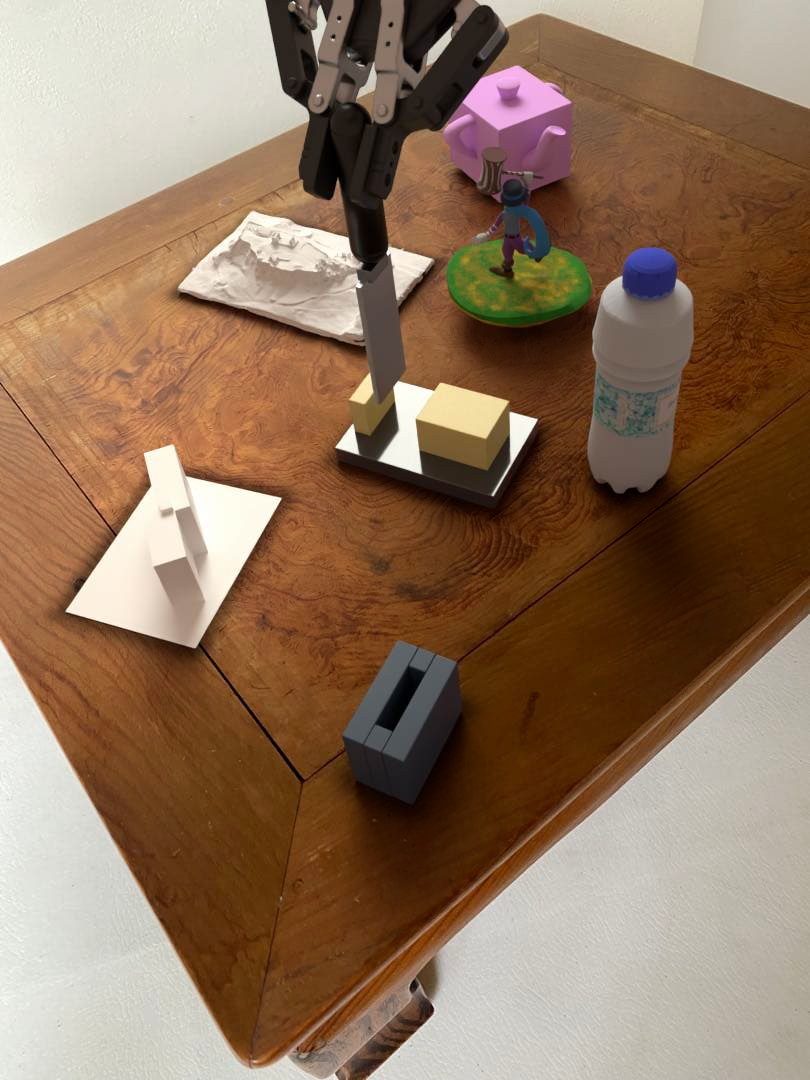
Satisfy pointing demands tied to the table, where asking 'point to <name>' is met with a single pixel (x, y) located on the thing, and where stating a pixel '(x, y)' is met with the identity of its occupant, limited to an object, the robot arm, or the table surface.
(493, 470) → the board
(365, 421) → the butter pat
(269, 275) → the terrain model
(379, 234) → the knife
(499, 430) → the butter block
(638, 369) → the bottle
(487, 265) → the figurine
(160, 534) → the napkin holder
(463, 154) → the teapot
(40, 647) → the table surface
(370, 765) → the knife stand
